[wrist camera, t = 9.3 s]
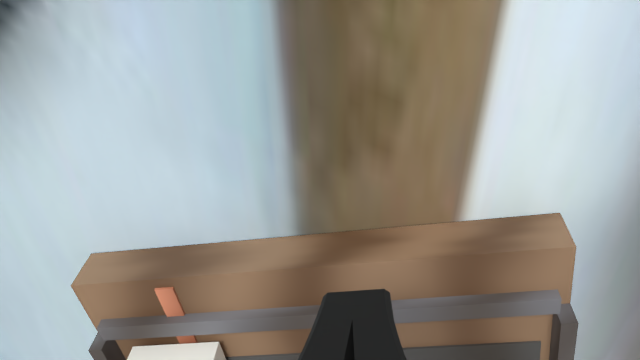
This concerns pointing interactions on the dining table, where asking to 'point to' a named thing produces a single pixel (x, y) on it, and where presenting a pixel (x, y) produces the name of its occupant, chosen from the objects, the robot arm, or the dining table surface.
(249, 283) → the console
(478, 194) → the dining table surface
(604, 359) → the dining table surface
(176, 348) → the fader knob
